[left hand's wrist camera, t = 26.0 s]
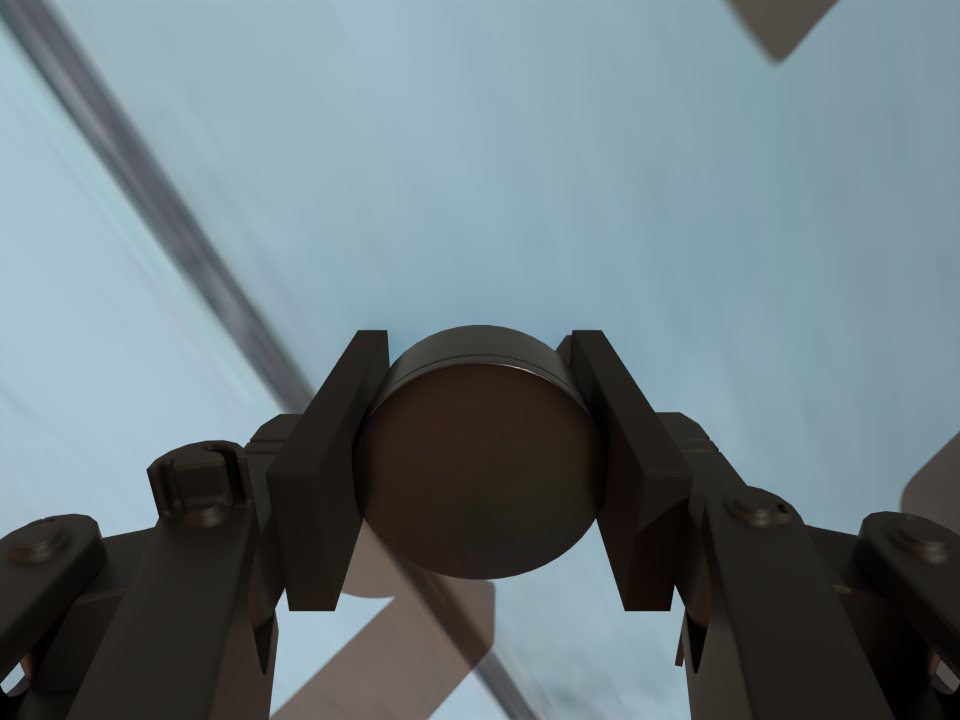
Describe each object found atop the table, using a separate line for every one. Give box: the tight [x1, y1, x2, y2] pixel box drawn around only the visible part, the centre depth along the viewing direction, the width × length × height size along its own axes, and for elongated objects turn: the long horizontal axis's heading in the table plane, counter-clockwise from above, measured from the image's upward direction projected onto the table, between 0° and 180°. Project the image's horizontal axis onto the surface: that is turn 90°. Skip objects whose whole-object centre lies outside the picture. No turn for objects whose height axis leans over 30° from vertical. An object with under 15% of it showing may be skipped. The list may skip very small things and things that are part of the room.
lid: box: [352, 325, 608, 580], centre depth 11 cm, size 5×5×2 cm
